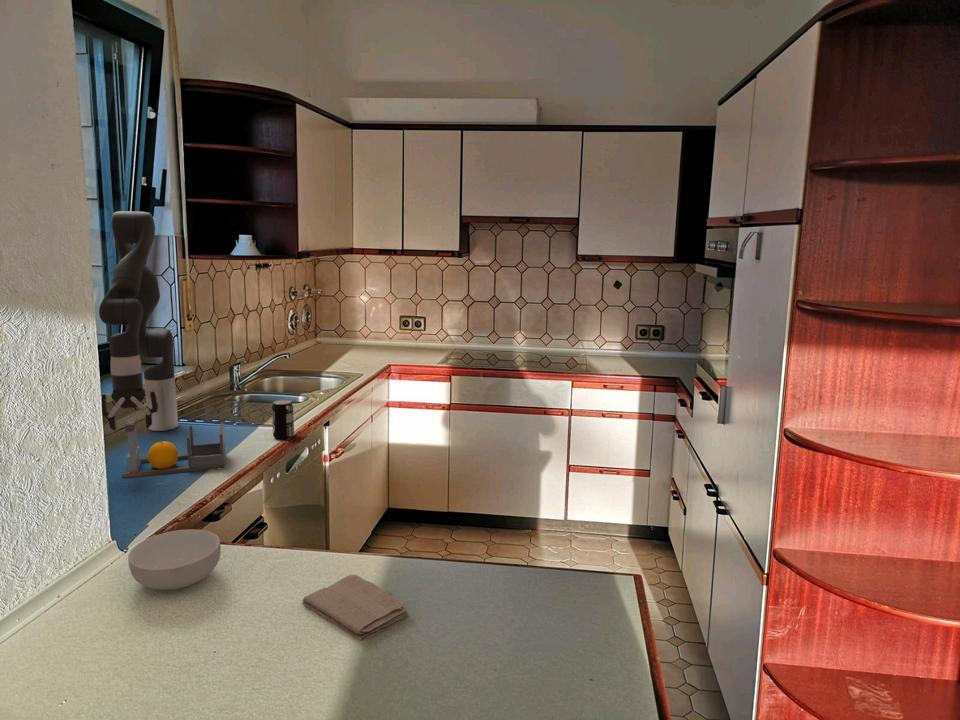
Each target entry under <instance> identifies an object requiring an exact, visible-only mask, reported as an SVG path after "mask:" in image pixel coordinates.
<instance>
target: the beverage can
mask: <svg viewBox="0 0 960 720" xmlns="http://www.w3.org/2000/svg"><path fill="white" fill-rule="evenodd" d="M271 417H272V436H273V437H274V439H276V440H278V439H279V441H285V440H290V439H292V438H293V437H294V435H295V423H294V421H295V420H294V417H295V416H294V404H293V403H292V400H291V399H283V398H282V399H277V400H276V399H275V400H274V401H273V402H272V405H271Z"/></svg>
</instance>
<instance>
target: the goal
mask: <svg viewBox="0 0 960 720" xmlns="http://www.w3.org/2000/svg"><path fill="white" fill-rule="evenodd" d="M219 424H220V426H219V442H210V443H209V442H208V443H200V444H199V443H197V444H195V443H194V442H195V441H194V430H193V428H194V427H193V424H190V425H189V426H188V428H189V435H188V436H186V447H187V448H186V450H187V455H188V459H187V462H188V467H189V472H194V471H193V470H200V471H206V470H205V469H211V470H219V469H218V468H222V469H225V467H226V442H225V427H224V426H225V424H224V422H221V423H219Z"/></svg>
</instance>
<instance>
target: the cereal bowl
mask: <svg viewBox="0 0 960 720" xmlns="http://www.w3.org/2000/svg"><path fill="white" fill-rule="evenodd" d="M221 547H222V546H221V540H220V538H219V536H218V535H217V534H216V533H213V532H212V531H209V530H204V529H196V528H194V529H179V530H173V531H167V532H163V533H159V534H155V535H152V536H150V537H148V538H146V539H144V540H142V541H141V542H139V543H137V544H136V545H135V546H134V547H132V549H130V551H129V553H128V557H127V560H128V566H129V570H130V574H131V576H132V578H133V579H134V580H135V581H136V582H137V583H139V584H140V585H142V586H144V587H145V588H146V587H147V588H148V589H153V590H161V591H162V590H163V591H164V590H165V591H175V590H176V591H177V590H182V589H185V588H187V587H190V586H192V585H194V584H195V583H197V582H199V581H201V580H203V579H204V578H206V577H207V576H208V575H210V574H211V572H213V570H215V568H216V567H217V565H218V563H219V562H220V559H221V553H222V552H221V549H222V548H221Z"/></svg>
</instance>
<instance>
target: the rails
mask: <svg viewBox="0 0 960 720" xmlns="http://www.w3.org/2000/svg"><path fill="white" fill-rule="evenodd" d="M178 459H182V460H188V454H184V455H182V454H181V455H178ZM142 462H146V463H149V461H148V457H147V458H146V457H145V458H141V464H143V463H142ZM187 471H189V466H187V467H175V468H165V469H153V470H151V469H150V470H142V471H137V472H128V471H127V472H122V473H121V478H132V477H133V478H134V477H141V476H143V477H144V476H152V475H154V476H155V475H166V473H167V474H176V473H177V472H178V473H187ZM189 472H190V471H189Z"/></svg>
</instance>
